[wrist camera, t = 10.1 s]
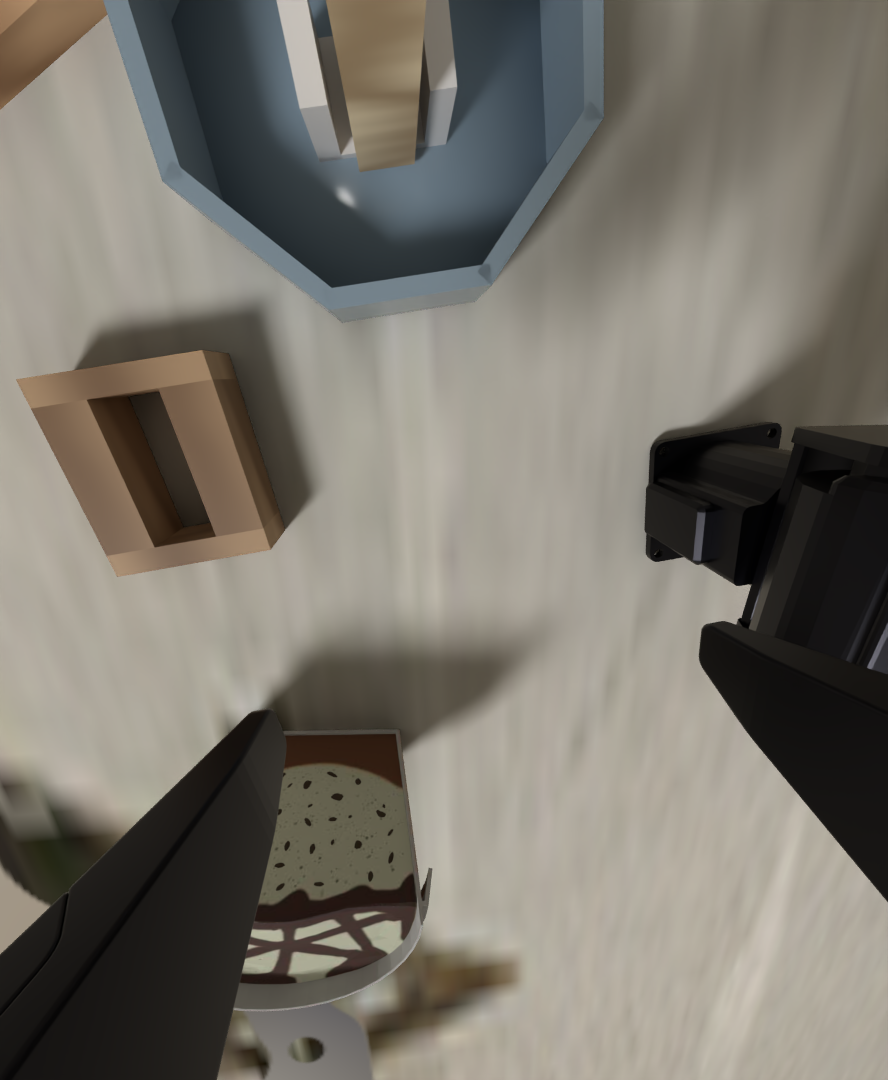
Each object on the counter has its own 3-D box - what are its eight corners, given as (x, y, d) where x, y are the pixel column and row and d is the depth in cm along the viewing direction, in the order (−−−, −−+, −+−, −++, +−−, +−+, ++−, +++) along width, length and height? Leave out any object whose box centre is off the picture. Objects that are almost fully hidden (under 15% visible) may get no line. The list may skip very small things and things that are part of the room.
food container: (226, 803, 27) (134, 1031, 17) (215, 731, 24) (103, 948, 15) (417, 797, 28) (425, 1003, 19) (423, 728, 26) (435, 924, 17)
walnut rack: (228, 353, 17) (202, 350, 15) (285, 530, 20) (270, 549, 18) (68, 379, 17) (16, 379, 15) (150, 553, 20) (117, 576, 18)
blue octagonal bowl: (543, -205, 13) (603, -449, 9) (561, 290, 18) (604, 267, 14) (104, -156, 12) (-27, -392, 8) (251, 339, 17) (210, 328, 13)
